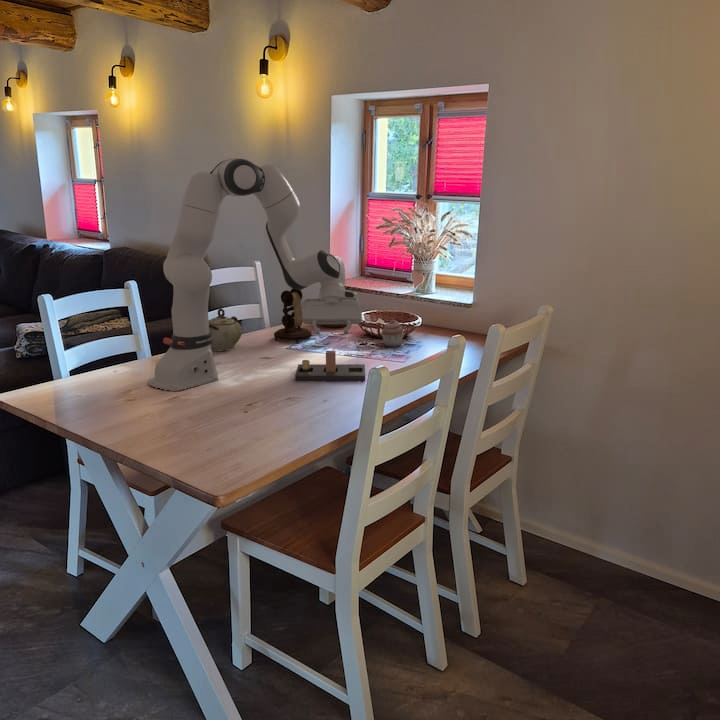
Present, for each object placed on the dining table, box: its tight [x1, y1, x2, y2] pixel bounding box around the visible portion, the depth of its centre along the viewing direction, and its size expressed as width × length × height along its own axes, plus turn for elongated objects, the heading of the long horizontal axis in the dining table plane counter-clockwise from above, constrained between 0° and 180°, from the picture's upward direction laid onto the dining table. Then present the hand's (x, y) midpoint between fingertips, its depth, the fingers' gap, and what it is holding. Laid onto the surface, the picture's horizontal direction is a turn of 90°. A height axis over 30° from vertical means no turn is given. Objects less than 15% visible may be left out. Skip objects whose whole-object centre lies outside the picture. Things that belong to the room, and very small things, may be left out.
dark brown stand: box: [273, 288, 313, 344], centre depth 242 cm, size 15×15×20 cm
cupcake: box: [380, 319, 405, 348], centre depth 235 cm, size 9×9×10 cm
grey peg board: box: [294, 359, 366, 383], centre depth 199 cm, size 22×12×5 cm, turn 90°
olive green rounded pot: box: [209, 308, 243, 351], centre depth 230 cm, size 20×15×15 cm
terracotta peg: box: [325, 350, 337, 372], centre depth 199 cm, size 3×3×8 cm
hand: (331, 333), depth 205 cm, fingers open, 8 cm apart
